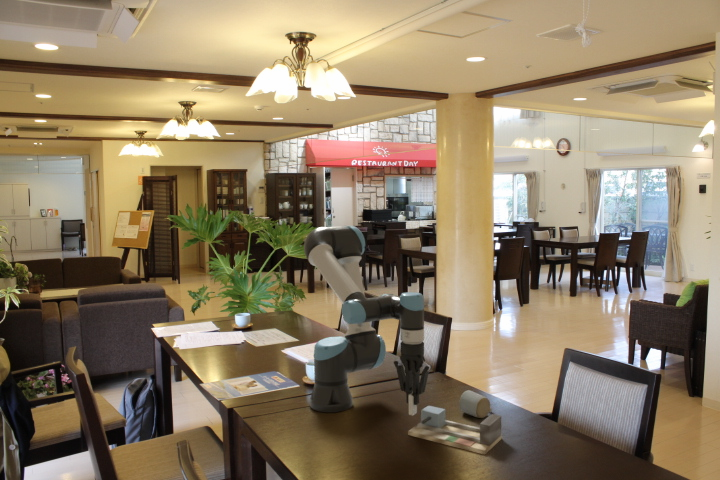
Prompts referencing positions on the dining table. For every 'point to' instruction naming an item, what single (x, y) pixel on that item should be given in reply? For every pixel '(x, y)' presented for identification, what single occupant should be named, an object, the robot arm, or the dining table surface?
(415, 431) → the gauge base
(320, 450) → the dining table surface
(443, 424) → the carriage
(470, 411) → the ceramic mug
